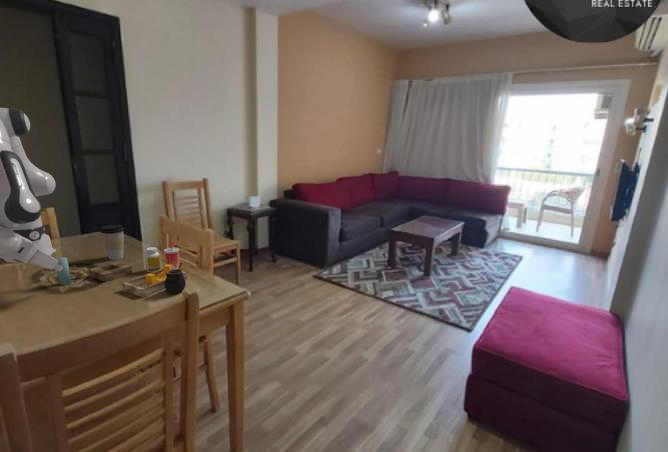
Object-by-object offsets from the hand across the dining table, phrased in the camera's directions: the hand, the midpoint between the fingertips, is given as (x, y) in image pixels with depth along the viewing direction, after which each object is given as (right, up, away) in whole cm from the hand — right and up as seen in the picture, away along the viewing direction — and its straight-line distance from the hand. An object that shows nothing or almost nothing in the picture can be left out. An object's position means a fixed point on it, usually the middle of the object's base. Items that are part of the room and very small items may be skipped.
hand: (54, 266), depth 129 cm
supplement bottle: (+27, -4, +20) cm, 34 cm away
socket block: (+12, -5, +14) cm, 19 cm away
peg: (0, -7, +5) cm, 9 cm away
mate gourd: (+45, -10, +2) cm, 46 cm away
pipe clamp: (+36, -8, +7) cm, 37 cm away
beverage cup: (+34, -4, +22) cm, 41 cm away
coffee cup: (+2, 0, +33) cm, 34 cm away
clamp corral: (+35, -8, +6) cm, 36 cm away
